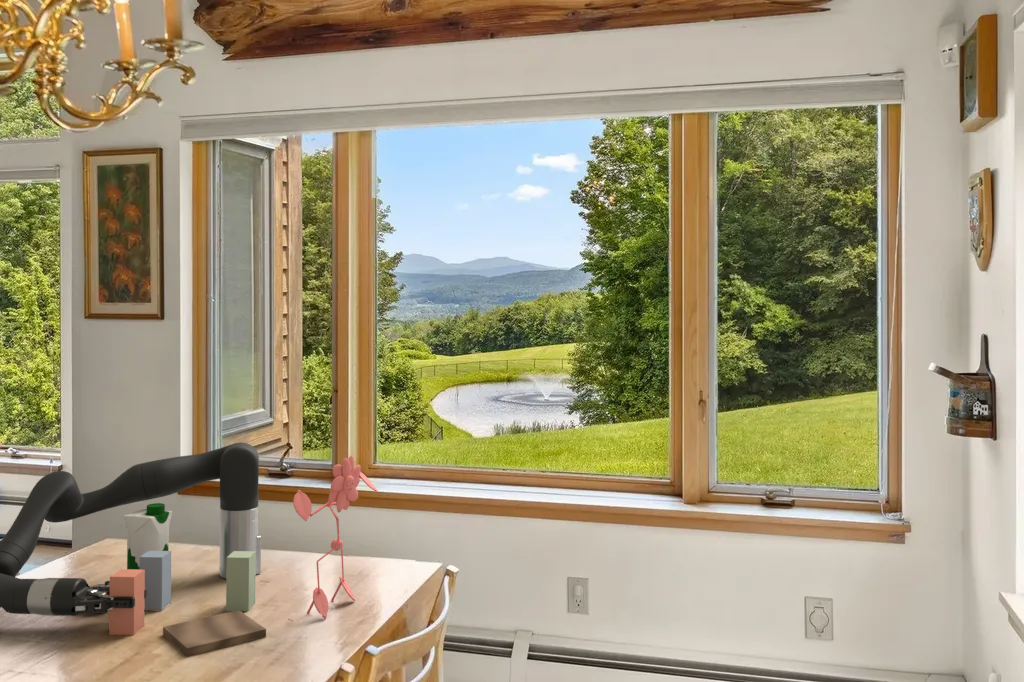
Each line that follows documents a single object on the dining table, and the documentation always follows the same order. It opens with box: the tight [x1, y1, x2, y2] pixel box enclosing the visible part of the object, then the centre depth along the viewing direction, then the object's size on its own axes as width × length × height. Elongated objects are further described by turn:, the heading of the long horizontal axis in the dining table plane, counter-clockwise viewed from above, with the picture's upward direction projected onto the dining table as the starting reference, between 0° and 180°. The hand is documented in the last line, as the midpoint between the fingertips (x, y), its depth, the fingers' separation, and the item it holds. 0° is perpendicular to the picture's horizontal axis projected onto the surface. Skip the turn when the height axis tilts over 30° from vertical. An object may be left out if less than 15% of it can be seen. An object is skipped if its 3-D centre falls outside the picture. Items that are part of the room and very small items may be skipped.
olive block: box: [225, 551, 257, 612], centre depth 187 cm, size 5×5×12 cm
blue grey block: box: [140, 550, 172, 611], centre depth 186 cm, size 5×5×12 cm
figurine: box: [287, 454, 378, 622], centre depth 184 cm, size 15×26×35 cm, turn 157°
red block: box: [108, 568, 145, 636], centre depth 172 cm, size 5×5×12 cm
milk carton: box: [123, 502, 173, 570], centre depth 199 cm, size 9×9×20 cm
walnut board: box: [162, 610, 267, 657], centre depth 170 cm, size 16×14×2 cm
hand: (139, 597), depth 172 cm, fingers closed on red block, 5 cm apart
